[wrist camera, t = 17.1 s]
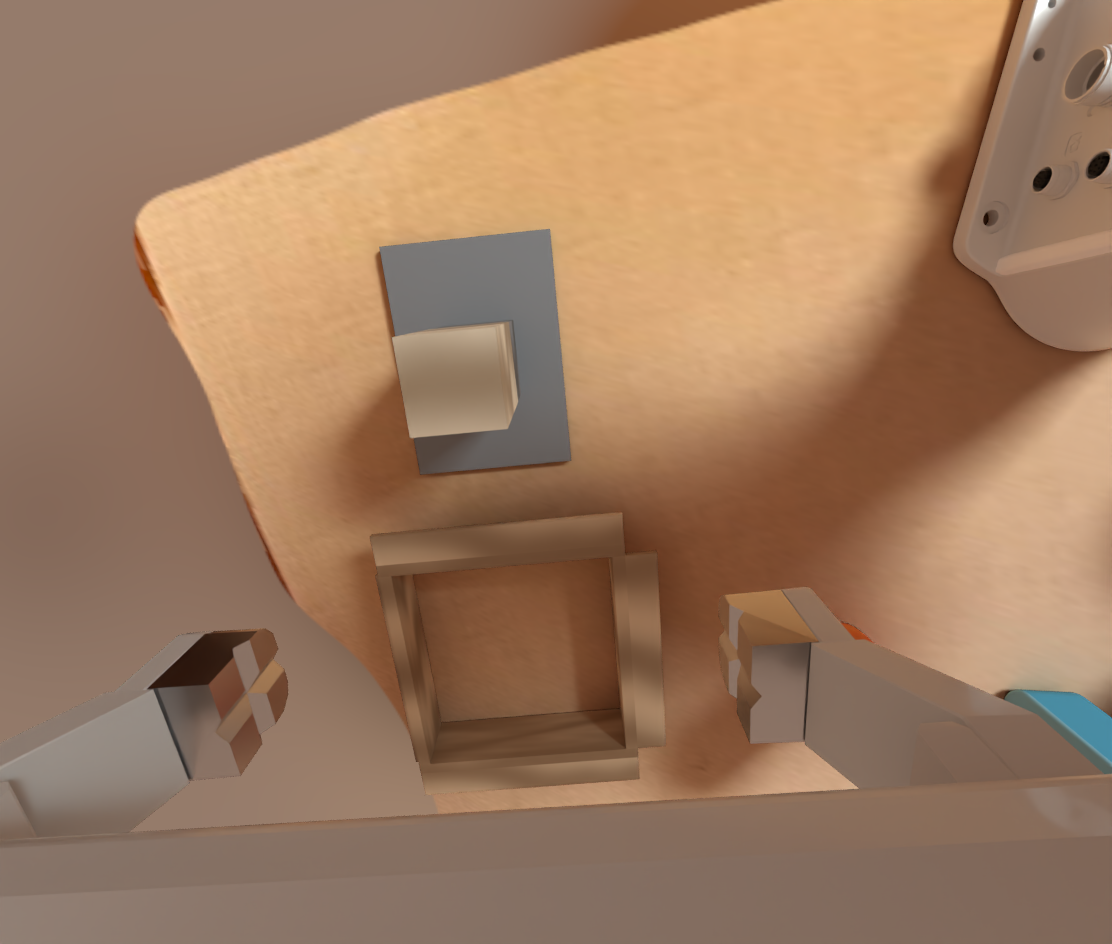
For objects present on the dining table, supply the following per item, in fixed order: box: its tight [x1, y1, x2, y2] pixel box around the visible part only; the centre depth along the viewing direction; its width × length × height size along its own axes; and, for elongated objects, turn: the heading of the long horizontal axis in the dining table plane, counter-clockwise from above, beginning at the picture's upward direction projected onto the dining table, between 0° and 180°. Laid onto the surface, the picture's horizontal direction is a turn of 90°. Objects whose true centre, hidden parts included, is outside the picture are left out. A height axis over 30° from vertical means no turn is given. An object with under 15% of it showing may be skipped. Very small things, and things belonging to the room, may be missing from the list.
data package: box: [1004, 690, 1112, 774], centre depth 37 cm, size 12×4×12 cm, turn 177°
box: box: [392, 320, 521, 438], centre depth 29 cm, size 4×4×10 cm
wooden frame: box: [370, 512, 666, 795], centre depth 38 cm, size 21×18×4 cm
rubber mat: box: [379, 229, 571, 475], centre depth 34 cm, size 14×10×1 cm
